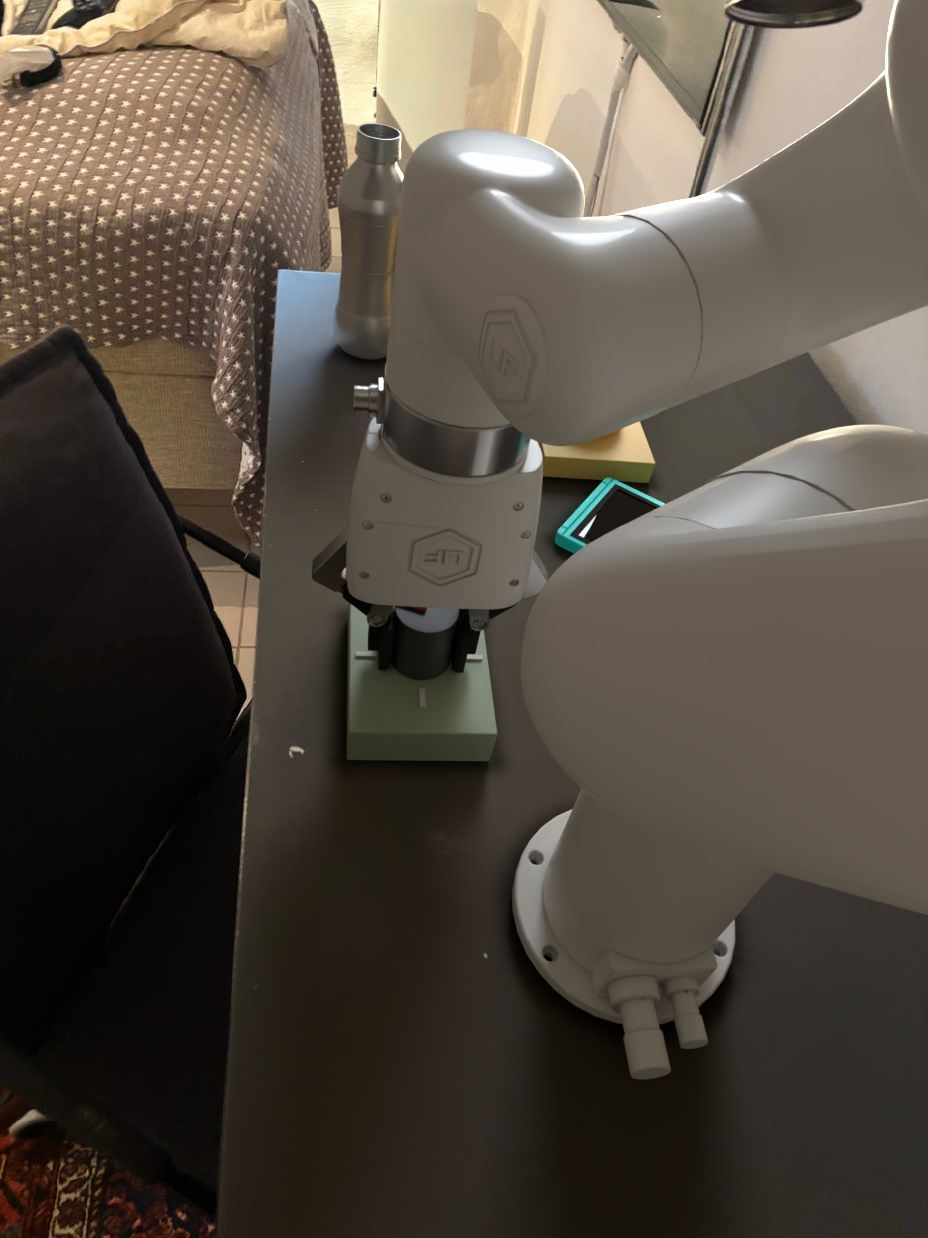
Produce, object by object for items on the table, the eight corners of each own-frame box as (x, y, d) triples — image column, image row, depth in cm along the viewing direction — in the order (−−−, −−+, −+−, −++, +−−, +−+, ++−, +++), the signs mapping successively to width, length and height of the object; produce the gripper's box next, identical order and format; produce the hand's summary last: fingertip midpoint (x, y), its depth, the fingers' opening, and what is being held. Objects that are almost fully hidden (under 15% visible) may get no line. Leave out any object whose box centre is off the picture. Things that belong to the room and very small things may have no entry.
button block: (648, 483, 78) (662, 446, 75) (539, 476, 76) (549, 438, 74) (619, 400, 87) (630, 364, 84) (520, 392, 85) (528, 356, 82)
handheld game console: (732, 638, 66) (739, 626, 65) (549, 543, 71) (553, 531, 70) (773, 568, 72) (780, 556, 71) (603, 485, 77) (607, 472, 76)
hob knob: (457, 643, 58) (468, 593, 54) (440, 688, 55) (450, 637, 52) (400, 626, 58) (406, 574, 55) (380, 669, 55) (385, 618, 52)
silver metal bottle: (374, 375, 83) (391, 153, 69) (317, 348, 85) (322, 126, 71) (412, 350, 88) (435, 135, 73) (357, 325, 89) (369, 110, 75)
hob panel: (489, 761, 55) (498, 732, 53) (346, 760, 54) (348, 730, 52) (472, 621, 63) (479, 591, 61) (347, 617, 62) (349, 586, 60)
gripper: (280, 449, 39) (283, 697, 53) (636, 474, 42) (554, 704, 55) (290, 360, 44) (291, 607, 58) (607, 386, 47) (538, 617, 60)
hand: (420, 652), depth 56 cm, fingers closed on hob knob, 4 cm apart
